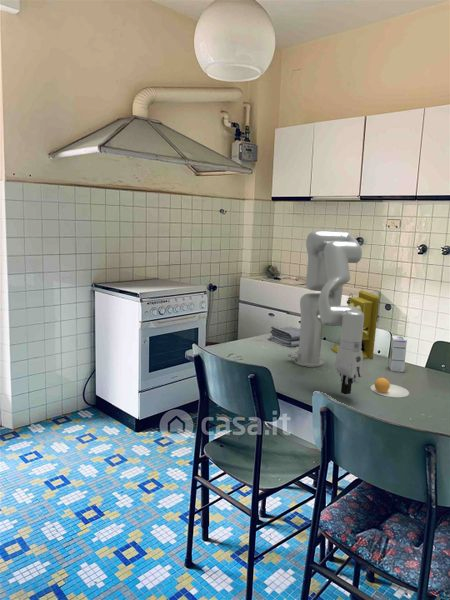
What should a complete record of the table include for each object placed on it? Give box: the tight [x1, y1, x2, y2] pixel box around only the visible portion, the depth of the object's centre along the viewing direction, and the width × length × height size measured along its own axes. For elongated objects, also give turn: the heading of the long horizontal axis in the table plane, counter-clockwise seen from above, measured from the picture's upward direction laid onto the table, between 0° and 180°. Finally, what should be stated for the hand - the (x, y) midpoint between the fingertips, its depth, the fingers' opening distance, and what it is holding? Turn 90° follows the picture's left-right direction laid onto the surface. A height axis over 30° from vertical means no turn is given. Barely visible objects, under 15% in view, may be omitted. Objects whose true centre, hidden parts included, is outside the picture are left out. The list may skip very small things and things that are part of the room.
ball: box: [374, 377, 391, 393], centre depth 171 cm, size 6×6×6 cm
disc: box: [370, 383, 410, 399], centre depth 174 cm, size 14×14×1 cm
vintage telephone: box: [331, 289, 380, 360], centre depth 219 cm, size 31×14×30 cm, turn 9°
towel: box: [268, 325, 300, 348], centre depth 236 cm, size 15×18×8 cm
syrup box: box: [388, 335, 408, 373], centre depth 198 cm, size 6×6×14 cm
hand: (345, 393), depth 165 cm, fingers closed
